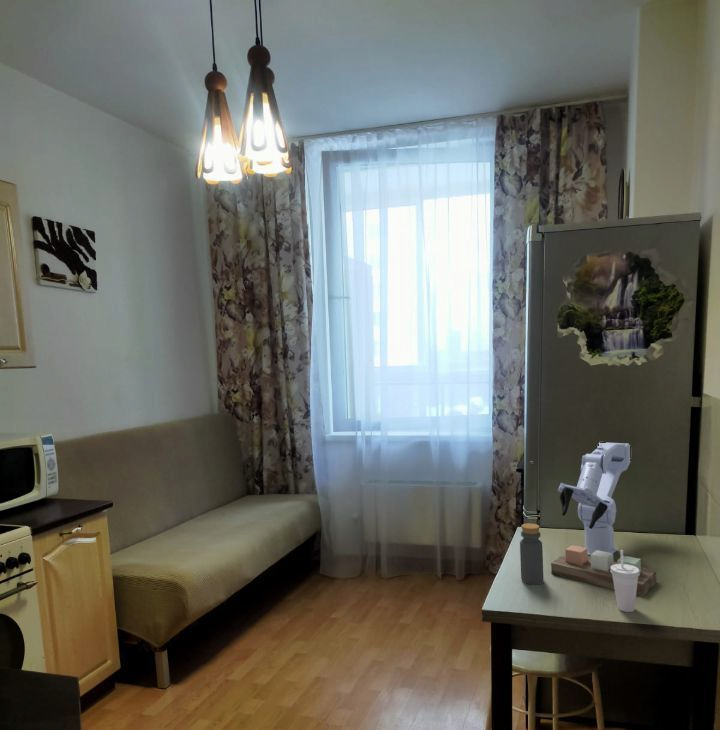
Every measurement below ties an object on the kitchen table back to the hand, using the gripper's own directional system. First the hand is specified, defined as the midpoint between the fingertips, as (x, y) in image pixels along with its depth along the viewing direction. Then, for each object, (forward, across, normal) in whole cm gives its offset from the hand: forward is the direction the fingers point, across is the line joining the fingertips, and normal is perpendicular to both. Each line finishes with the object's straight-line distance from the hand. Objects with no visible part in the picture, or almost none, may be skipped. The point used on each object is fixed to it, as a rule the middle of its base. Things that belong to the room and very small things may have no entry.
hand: (577, 520), depth 157 cm
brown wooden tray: (+7, +12, +9) cm, 16 cm away
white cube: (+6, +11, +7) cm, 14 cm away
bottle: (+17, -5, +11) cm, 21 cm away
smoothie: (+21, +15, -3) cm, 26 cm away
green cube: (+7, +16, +3) cm, 18 cm away
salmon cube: (+5, +5, +11) cm, 13 cm away
